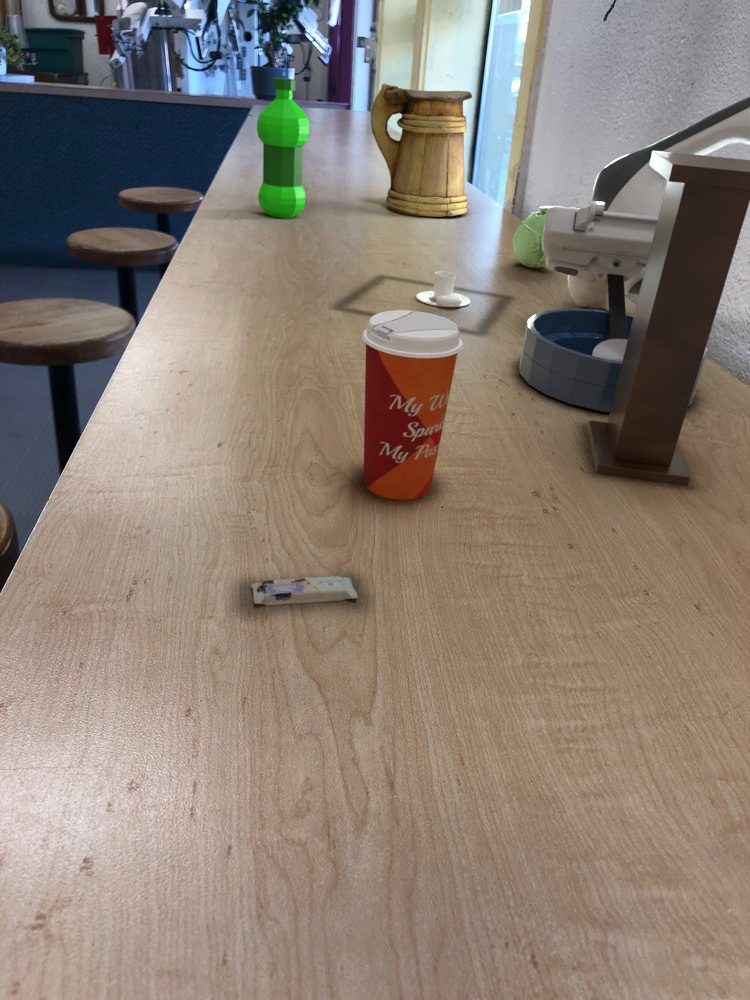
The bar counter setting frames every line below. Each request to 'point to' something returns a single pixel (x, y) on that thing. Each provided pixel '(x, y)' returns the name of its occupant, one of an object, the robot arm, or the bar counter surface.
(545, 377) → the bowl
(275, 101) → the plastic bottle
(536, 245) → the green cabbage
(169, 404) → the bar counter surface
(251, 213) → the bar counter surface
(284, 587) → the granola bar
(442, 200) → the tankard
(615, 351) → the grey block
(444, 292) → the teacup and saucer
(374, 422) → the paper cup
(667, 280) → the wooden post stand
